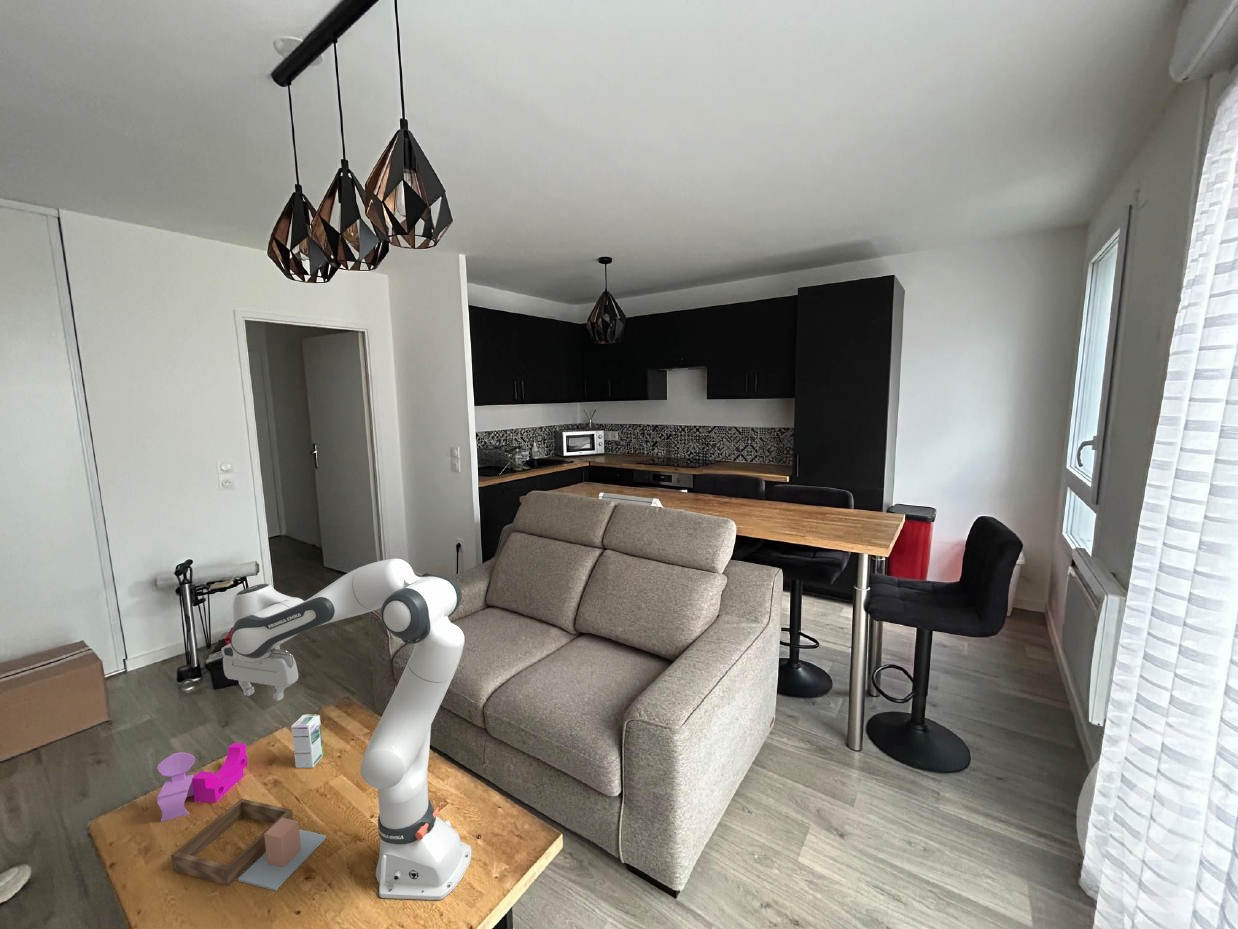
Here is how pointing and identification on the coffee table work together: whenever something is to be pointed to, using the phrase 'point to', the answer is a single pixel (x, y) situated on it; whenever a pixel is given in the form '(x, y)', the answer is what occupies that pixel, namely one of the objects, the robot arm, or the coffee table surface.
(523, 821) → the coffee table surface
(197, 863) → the wooden frame
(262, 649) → the robot arm
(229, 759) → the magenta arched bracket
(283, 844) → the block
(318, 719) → the syrup box
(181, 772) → the toy chair
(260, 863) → the mat
